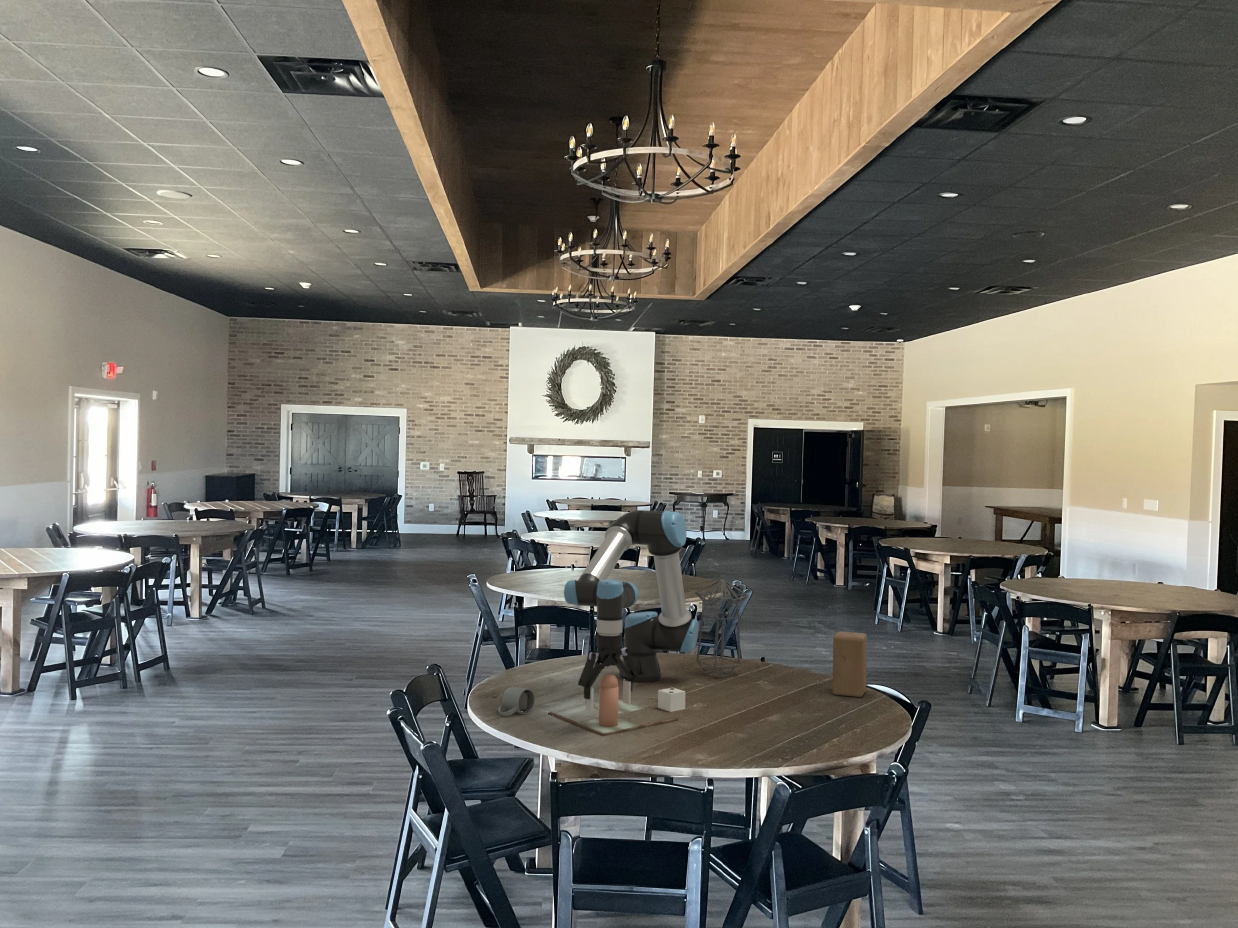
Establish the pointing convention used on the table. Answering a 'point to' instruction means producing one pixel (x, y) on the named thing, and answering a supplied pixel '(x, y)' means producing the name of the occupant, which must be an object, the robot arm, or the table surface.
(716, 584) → the geometric lantern
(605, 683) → the pawn
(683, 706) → the off-white cube
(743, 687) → the table surface
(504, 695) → the ceramic mug
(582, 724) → the game board
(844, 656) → the wooden block
